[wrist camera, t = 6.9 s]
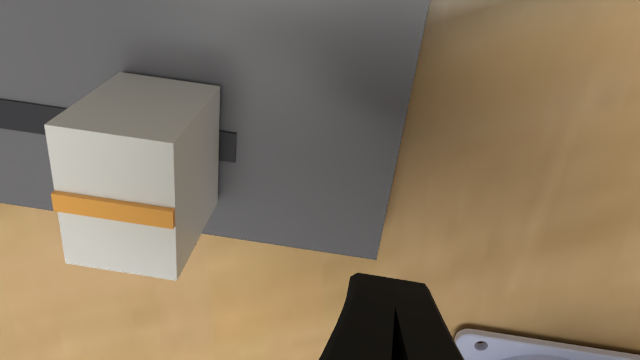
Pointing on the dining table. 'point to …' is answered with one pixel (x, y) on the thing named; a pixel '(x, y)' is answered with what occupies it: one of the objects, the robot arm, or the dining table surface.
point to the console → (233, 101)
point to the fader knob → (135, 173)
